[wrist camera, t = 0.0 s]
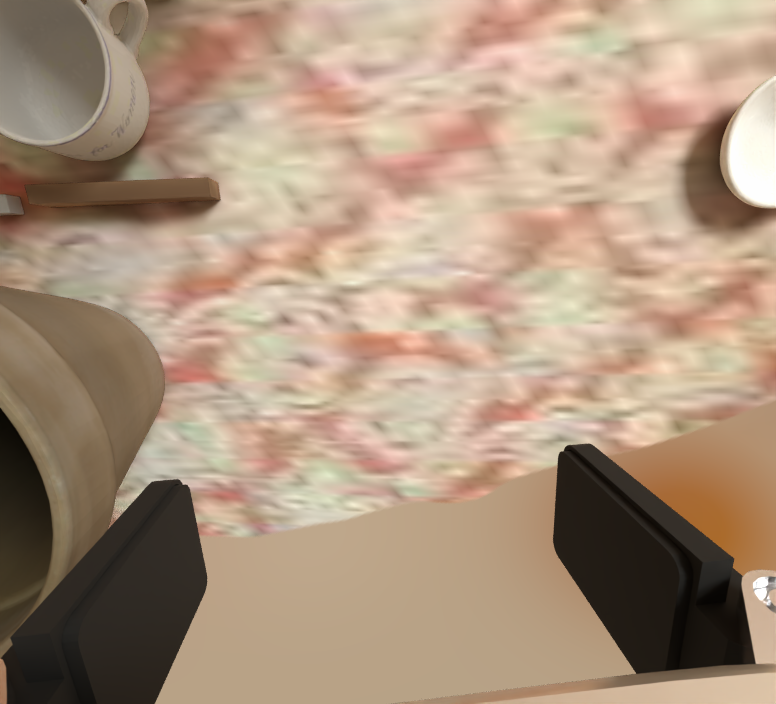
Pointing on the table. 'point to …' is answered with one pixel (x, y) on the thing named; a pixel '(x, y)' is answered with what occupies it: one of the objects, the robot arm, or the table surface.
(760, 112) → the white sneaker
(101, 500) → the plant pot
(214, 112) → the table surface
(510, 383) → the table surface
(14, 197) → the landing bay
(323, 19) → the table surface
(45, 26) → the teacup
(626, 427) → the table surface
